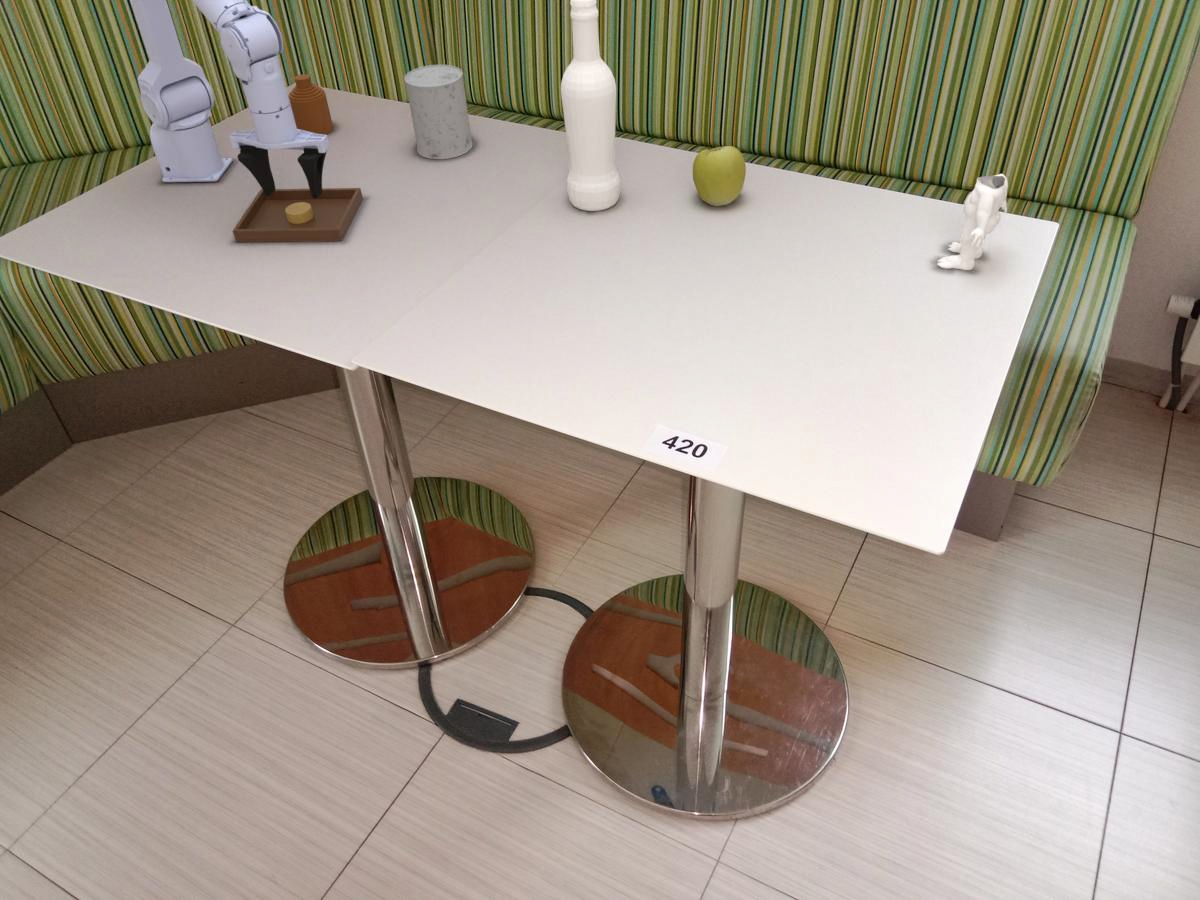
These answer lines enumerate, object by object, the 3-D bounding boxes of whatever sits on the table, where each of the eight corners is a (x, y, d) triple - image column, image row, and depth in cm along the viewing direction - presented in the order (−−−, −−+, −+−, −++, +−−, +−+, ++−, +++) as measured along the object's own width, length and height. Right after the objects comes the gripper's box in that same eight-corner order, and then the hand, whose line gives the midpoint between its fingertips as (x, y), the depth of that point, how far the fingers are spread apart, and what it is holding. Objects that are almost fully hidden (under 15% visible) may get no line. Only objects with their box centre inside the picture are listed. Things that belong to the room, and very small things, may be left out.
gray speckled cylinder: (438, 164, 161) (426, 91, 153) (406, 147, 167) (392, 76, 159) (483, 146, 166) (474, 74, 158) (451, 130, 171) (440, 60, 163)
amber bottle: (294, 139, 172) (280, 85, 165) (300, 124, 176) (286, 71, 170) (331, 136, 172) (318, 82, 165) (335, 121, 176) (323, 68, 170)
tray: (236, 242, 145) (232, 231, 143) (263, 200, 155) (260, 189, 153) (341, 241, 144) (338, 229, 142) (363, 198, 153) (360, 187, 152)
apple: (754, 204, 144) (737, 143, 138) (702, 219, 146) (683, 160, 140) (751, 180, 150) (735, 120, 144) (702, 195, 152) (683, 137, 146)
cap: (285, 215, 150) (283, 205, 149) (310, 209, 151) (308, 199, 150) (290, 226, 147) (287, 216, 146) (315, 220, 148) (313, 210, 147)
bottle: (615, 214, 146) (607, 5, 126) (562, 211, 147) (546, 4, 127) (624, 189, 152) (618, -14, 132) (574, 186, 153) (560, -15, 133)
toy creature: (956, 236, 137) (974, 156, 129) (999, 246, 134) (1021, 165, 126) (927, 275, 130) (945, 193, 122) (973, 287, 127) (993, 204, 119)
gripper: (328, 96, 139) (349, 184, 148) (235, 93, 141) (261, 179, 150) (308, 116, 134) (331, 206, 143) (212, 112, 136) (240, 201, 145)
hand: (294, 194), depth 146 cm, fingers open, 7 cm apart
